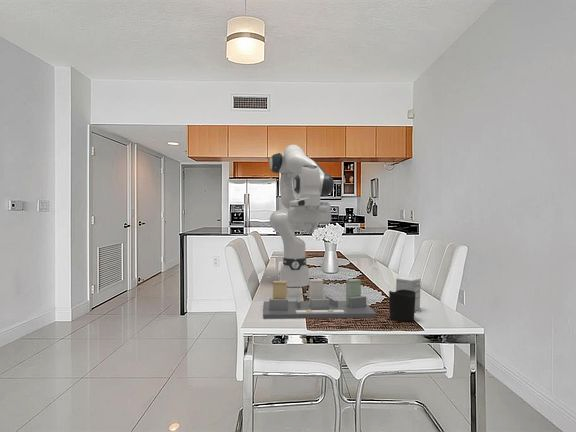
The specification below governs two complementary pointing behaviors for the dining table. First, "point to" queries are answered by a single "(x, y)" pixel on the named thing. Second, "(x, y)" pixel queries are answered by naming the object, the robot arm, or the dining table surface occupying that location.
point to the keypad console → (318, 308)
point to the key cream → (315, 289)
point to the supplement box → (410, 287)
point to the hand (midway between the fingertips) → (309, 233)
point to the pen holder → (402, 305)
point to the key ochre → (279, 289)
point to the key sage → (352, 289)
